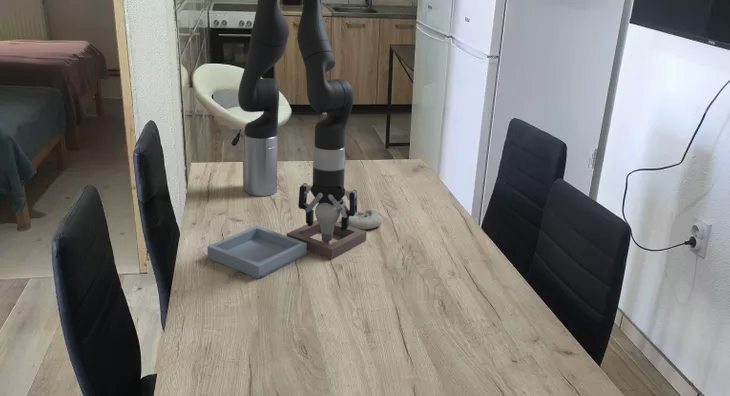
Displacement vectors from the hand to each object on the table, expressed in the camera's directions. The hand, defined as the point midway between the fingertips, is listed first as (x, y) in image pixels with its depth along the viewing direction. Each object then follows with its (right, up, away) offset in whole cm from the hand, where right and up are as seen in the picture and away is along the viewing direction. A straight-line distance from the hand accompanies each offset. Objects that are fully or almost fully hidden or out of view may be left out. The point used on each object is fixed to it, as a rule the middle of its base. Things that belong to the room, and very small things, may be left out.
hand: (327, 227), depth 159 cm
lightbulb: (0, -4, +2) cm, 4 cm away
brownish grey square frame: (0, -4, +1) cm, 4 cm away
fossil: (+9, 0, +14) cm, 17 cm away
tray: (-16, -6, -8) cm, 19 cm away
